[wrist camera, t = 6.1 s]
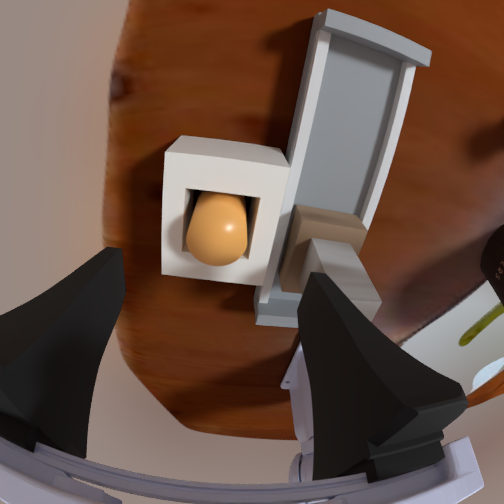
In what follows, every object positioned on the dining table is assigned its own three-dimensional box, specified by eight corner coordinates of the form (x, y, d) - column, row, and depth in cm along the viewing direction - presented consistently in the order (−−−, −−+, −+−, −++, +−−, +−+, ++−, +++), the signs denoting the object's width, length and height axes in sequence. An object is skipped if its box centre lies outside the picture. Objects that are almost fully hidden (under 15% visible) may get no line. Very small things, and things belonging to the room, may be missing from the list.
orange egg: (241, 229, 18) (242, 269, 14) (195, 223, 17) (184, 262, 14) (249, 186, 16) (252, 217, 13) (199, 179, 16) (188, 210, 13)
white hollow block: (258, 248, 20) (262, 286, 17) (171, 237, 20) (158, 273, 16) (279, 148, 17) (290, 167, 13) (178, 135, 16) (160, 151, 12)
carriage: (333, 278, 20) (362, 357, 14) (278, 272, 20) (292, 356, 14) (356, 215, 18) (405, 286, 12) (296, 204, 17) (324, 278, 11)
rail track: (325, 304, 23) (334, 331, 21) (253, 298, 23) (255, 326, 20) (405, 49, 13) (432, 48, 10) (313, 16, 12) (328, 5, 10)
